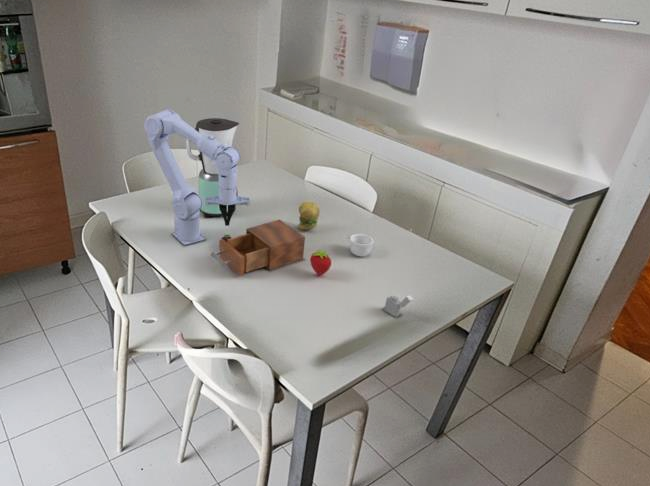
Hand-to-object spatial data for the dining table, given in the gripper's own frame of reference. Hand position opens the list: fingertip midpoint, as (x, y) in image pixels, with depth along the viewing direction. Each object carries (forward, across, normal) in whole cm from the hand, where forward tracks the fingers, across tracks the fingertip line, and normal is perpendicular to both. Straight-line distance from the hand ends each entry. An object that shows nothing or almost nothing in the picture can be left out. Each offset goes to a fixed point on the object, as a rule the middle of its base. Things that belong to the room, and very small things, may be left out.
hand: (227, 224), depth 174 cm
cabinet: (+9, -16, +4) cm, 19 cm away
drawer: (+9, -4, +11) cm, 15 cm away
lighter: (+10, -47, +38) cm, 61 cm away
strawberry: (+10, -29, +17) cm, 35 cm away
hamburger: (+10, -30, -13) cm, 34 cm away
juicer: (+10, +4, -28) cm, 30 cm away
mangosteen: (+9, 0, 0) cm, 9 cm away
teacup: (+10, -44, +2) cm, 46 cm away
